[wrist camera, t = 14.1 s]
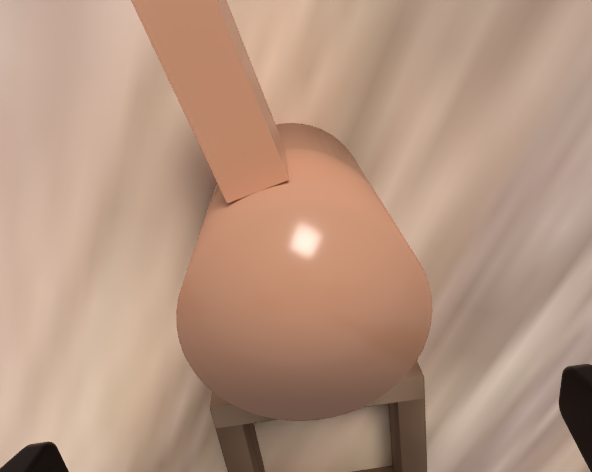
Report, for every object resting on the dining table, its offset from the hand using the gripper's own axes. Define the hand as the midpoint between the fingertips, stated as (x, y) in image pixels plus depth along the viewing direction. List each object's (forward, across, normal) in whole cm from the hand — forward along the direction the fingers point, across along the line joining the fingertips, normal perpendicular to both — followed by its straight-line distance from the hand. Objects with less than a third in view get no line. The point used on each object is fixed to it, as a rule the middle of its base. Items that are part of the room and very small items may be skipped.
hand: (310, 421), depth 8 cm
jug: (+12, 0, -2) cm, 12 cm away
